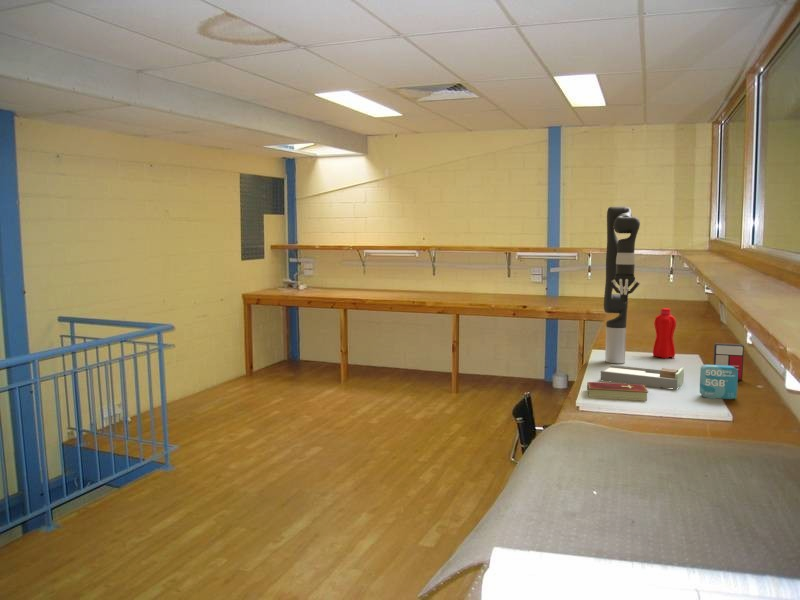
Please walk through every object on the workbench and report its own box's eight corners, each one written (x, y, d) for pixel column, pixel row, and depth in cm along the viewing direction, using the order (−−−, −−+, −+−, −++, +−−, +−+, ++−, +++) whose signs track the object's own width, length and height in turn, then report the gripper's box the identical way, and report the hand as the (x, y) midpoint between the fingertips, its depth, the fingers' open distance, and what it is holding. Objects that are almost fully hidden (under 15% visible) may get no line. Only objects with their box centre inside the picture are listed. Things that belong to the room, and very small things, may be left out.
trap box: (610, 373, 278) (611, 360, 278) (683, 381, 262) (684, 367, 262) (600, 380, 264) (600, 366, 263) (676, 389, 248) (677, 374, 247)
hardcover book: (587, 391, 247) (587, 380, 246) (643, 394, 242) (643, 383, 241) (588, 398, 235) (589, 387, 235) (647, 402, 230) (648, 391, 230)
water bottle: (662, 354, 326) (664, 306, 323) (677, 358, 315) (679, 309, 313) (647, 355, 323) (649, 307, 321) (662, 359, 312) (664, 309, 310)
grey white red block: (713, 378, 268) (715, 344, 266) (712, 376, 272) (714, 342, 270) (742, 380, 264) (744, 345, 263) (740, 378, 268) (742, 344, 267)
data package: (701, 397, 235) (703, 366, 234) (699, 394, 240) (700, 364, 238) (736, 399, 232) (738, 368, 231) (733, 396, 237) (735, 365, 236)
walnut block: (662, 375, 261) (662, 368, 261) (677, 376, 258) (678, 369, 257) (659, 377, 256) (660, 370, 256) (675, 379, 253) (675, 372, 252)
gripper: (643, 263, 269) (641, 303, 271) (611, 262, 276) (610, 301, 278) (639, 263, 263) (638, 304, 265) (607, 263, 270) (606, 303, 272)
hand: (623, 303), depth 271 cm, fingers closed
